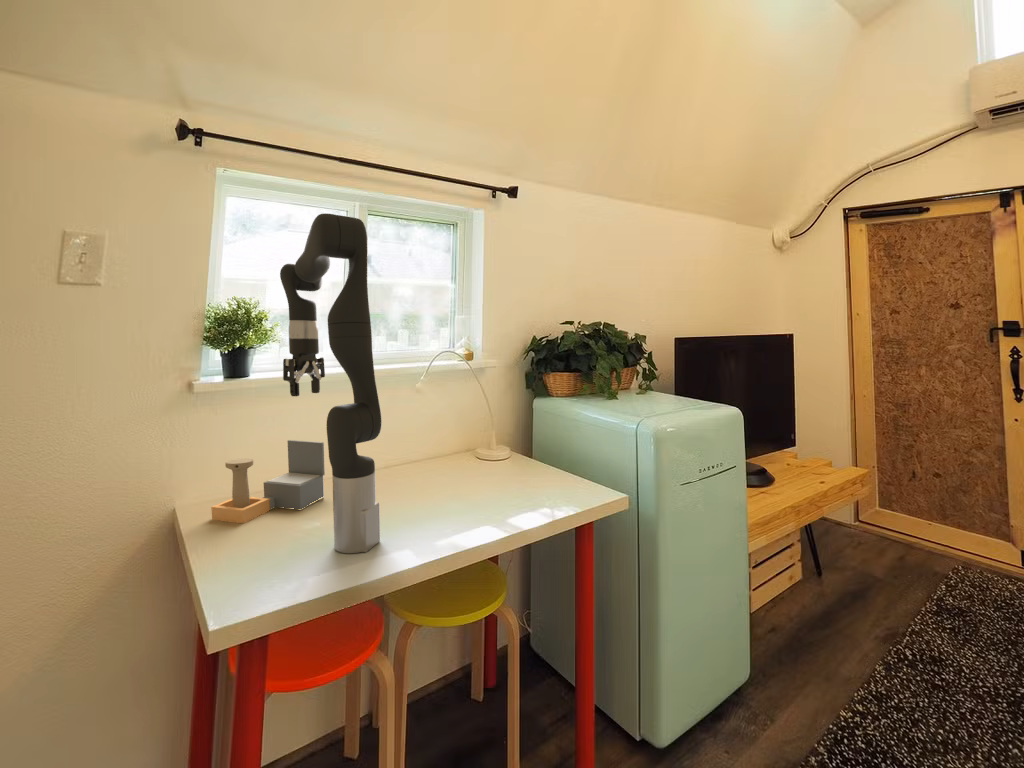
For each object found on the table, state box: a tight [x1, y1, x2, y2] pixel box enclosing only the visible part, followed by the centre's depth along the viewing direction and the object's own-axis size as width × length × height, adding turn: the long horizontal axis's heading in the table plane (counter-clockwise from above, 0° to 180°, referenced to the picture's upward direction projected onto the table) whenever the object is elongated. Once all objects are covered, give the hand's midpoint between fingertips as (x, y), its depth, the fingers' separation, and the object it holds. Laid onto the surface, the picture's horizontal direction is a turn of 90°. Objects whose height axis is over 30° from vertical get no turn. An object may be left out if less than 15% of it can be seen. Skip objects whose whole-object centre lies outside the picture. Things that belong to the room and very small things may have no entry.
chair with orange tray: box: [210, 439, 325, 524], centre depth 126 cm, size 18×22×17 cm
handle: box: [225, 458, 254, 508], centre depth 121 cm, size 5×6×15 cm
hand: (305, 394), depth 127 cm, fingers open, 8 cm apart
